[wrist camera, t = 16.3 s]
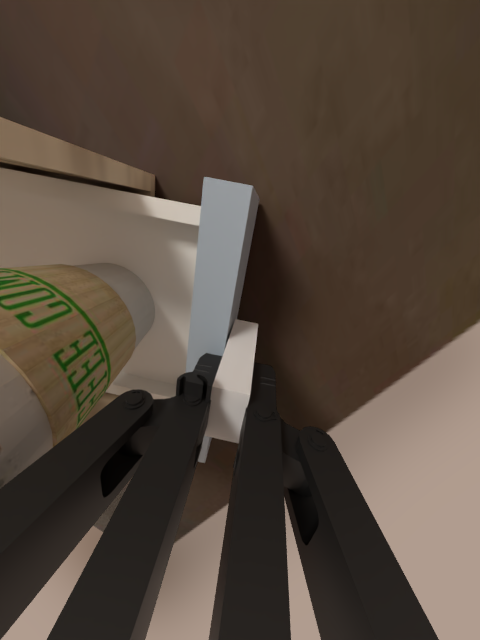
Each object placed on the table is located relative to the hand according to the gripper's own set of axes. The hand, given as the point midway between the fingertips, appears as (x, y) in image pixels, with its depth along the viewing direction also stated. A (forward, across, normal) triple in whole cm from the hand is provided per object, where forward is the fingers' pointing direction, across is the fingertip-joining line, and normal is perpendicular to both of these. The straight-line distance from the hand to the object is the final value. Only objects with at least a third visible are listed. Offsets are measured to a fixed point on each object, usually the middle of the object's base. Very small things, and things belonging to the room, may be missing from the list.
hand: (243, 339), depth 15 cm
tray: (+3, -11, 0) cm, 11 cm away
